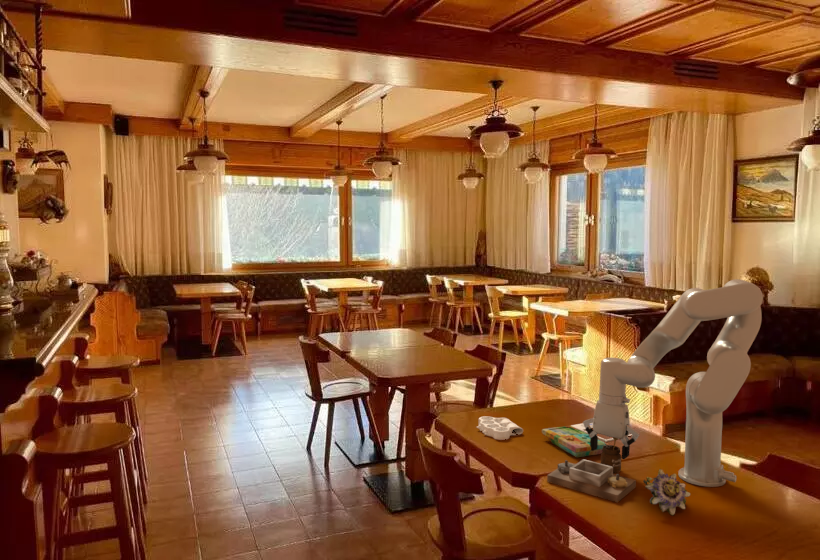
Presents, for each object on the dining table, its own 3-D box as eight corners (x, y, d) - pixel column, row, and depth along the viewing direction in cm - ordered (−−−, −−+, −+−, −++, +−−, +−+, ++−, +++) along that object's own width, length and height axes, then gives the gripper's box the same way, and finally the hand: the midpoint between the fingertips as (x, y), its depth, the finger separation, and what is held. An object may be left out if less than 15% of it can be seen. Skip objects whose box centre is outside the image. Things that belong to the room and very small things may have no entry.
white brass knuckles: (527, 438, 217) (489, 442, 213) (505, 422, 235) (469, 426, 230) (527, 429, 217) (489, 433, 213) (505, 414, 234) (469, 417, 230)
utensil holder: (596, 470, 188) (597, 431, 187) (606, 464, 192) (607, 427, 191) (615, 475, 183) (616, 436, 182) (624, 469, 188) (626, 431, 187)
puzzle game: (575, 445, 196) (541, 426, 215) (575, 460, 197) (541, 439, 215) (606, 441, 200) (570, 423, 219) (605, 455, 200) (570, 436, 219)
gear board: (635, 487, 175) (636, 470, 175) (617, 502, 165) (617, 484, 165) (567, 468, 189) (568, 452, 189) (547, 481, 179) (547, 464, 179)
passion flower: (670, 534, 159) (655, 505, 155) (642, 508, 169) (627, 480, 164) (703, 507, 161) (689, 477, 156) (674, 483, 171) (659, 455, 166)
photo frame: (600, 419, 235) (636, 433, 219) (600, 422, 235) (636, 436, 219) (570, 425, 228) (605, 439, 212) (570, 427, 228) (605, 443, 212)
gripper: (645, 402, 183) (642, 457, 185) (590, 391, 194) (587, 443, 196) (635, 407, 177) (632, 464, 179) (579, 395, 189) (577, 449, 190)
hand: (609, 453), depth 187 cm, fingers open, 9 cm apart
